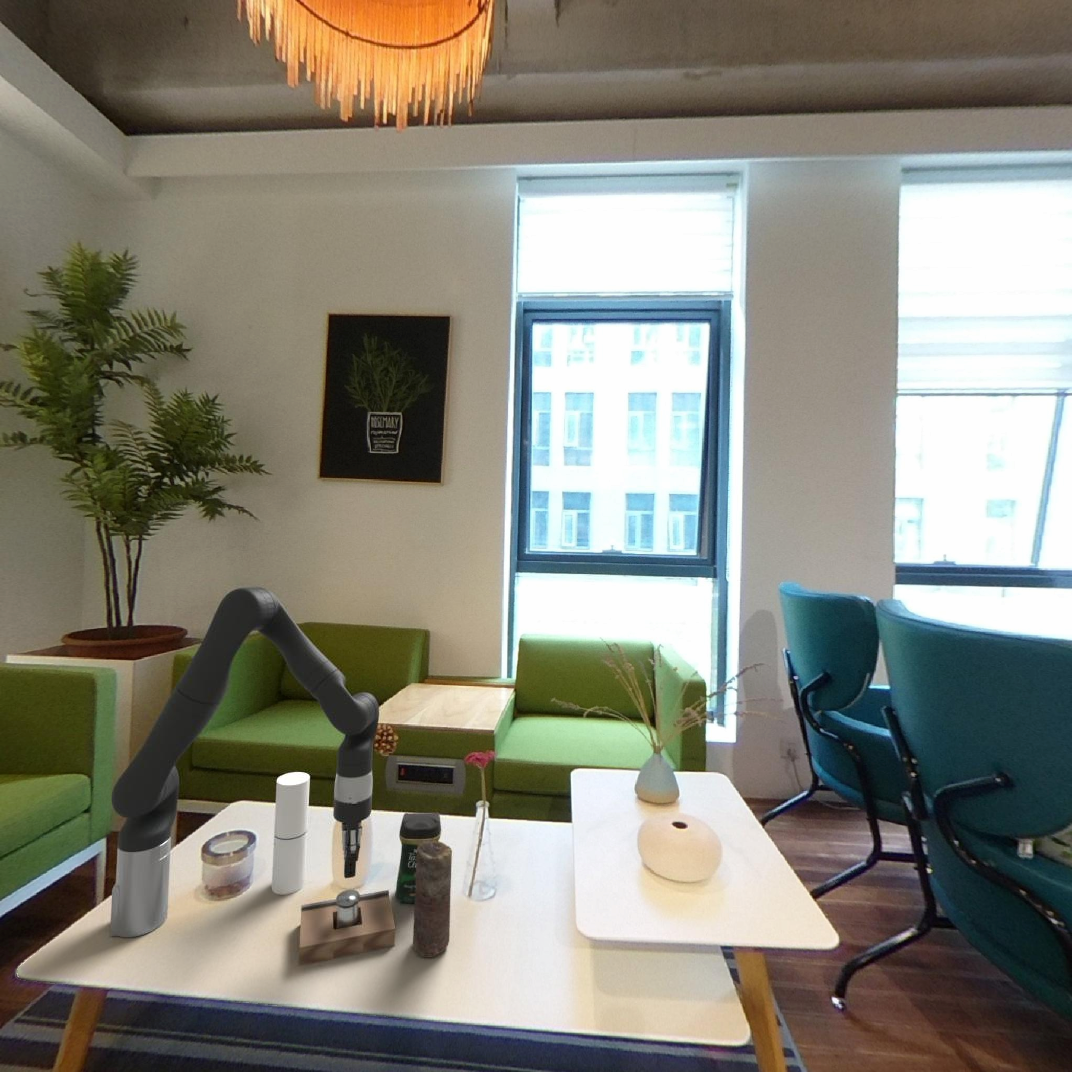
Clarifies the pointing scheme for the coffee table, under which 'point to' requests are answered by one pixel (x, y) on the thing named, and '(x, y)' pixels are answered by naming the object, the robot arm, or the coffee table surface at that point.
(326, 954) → the jig
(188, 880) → the coffee table surface
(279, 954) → the coffee table surface
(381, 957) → the coffee table surface
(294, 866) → the cylindrical container
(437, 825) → the coffee jar
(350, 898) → the salt shaker
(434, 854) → the candle
